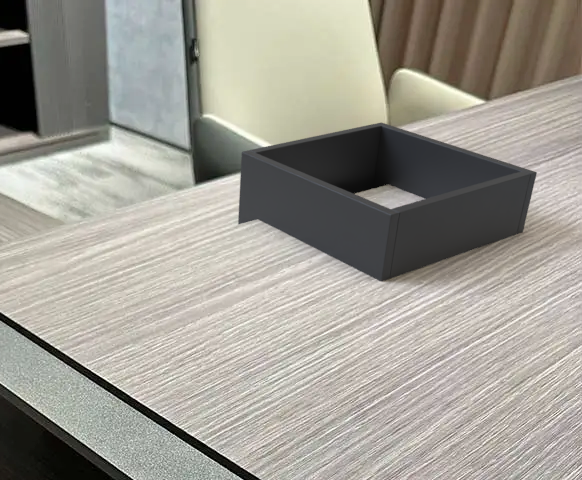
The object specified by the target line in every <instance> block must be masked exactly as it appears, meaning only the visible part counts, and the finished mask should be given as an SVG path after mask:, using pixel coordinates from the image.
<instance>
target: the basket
mask: <svg viewBox="0 0 582 480" xmlns="http://www.w3.org/2000/svg"><path fill="white" fill-rule="evenodd" d="M240 160H241V161H240V177H239V178H240V179H239V197H238V198H239V199H238V201H239V202H238V216H237V217H238V219H237V225H243V224H246V223H250V222H254V221H257V220H258V221H260V222H263V223H264V224H266V225H268V226H270V227H272V228H274V229H276V230H278V231H280V232H282V233H284V234H286V235H287V236H290V237H292V238H294V239H296V240H297V241H300V242H302V243H304V244H305V245H308V246H310V247H312V248H313V249H316V250H318V251H319V252H322V253H324V254H325V255H327V256H330V257H331V258H333V259H336V260H337V261H339V262H341V263H343V264H345V265H347V266H349V267H352V269H355V270H357V271H359V272H361V273H362V274H365V275H367V276H369V277H371V278H372V279H375V280H377V281H379V282H381V283H382V282H385V281H387V280H390V279H394V278H396V277H399V276H402V275H405V274H408V273H411V272H414V271H417V270H419V269H422V268H425V267H427V266H430V265H434V264H436V263H437V264H438V263H439V262H442V261H445V260H448V259H451V258H454V257H456V256H459V255H463V254H466V253H468V252H470V251H473V250H476V249H479V248H482V247H485V246H487V245H491V244H494V243H497V242H498V241H503V240H505V239H507V238H511V237H513V236H516V235H519V234H522V233H524V229H525V224H526V221H527V216H528V211H529V208H530V204H531V199H532V195H533V191H534V187H535V184H536V183H535V182H536V179H537V175H538V172H537V171H536V170H535V171H534V170H531V169H529V168H526V167H522V166H518V165H516V164H512V163H509V162H506V161H503V160H501V159H497V158H495V157H491V156H487V155H485V154H481V153H478V152H475V151H472V150H469V149H466V148H463V147H460V146H456V145H453V144H450V143H447V142H444V141H440V140H438V139H434V138H431V137H428V136H425V135H422V134H419V133H416V132H412V131H410V130H406V129H403V128H400V127H397V126H393V125H391V124H387V123H385V122H377V123H372V124H368V125H362V126H358V127H353V128H348V129H343V130H339V131H334V132H328V133H324V134H319V135H314V136H309V137H305V138H300V139H296V140H291V141H286V142H282V143H281V142H280V143H277V144H271V145H267V146H262V147H258V148H252V149H249V150H244V151H241V159H240ZM388 185H389V186H391V187H394V188H397V189H399V190H402V191H404V192H407V193H410V194H412V195H414V196H416V197H419V198H422V199H420V200H418V201H417V200H416V201H413V202H411V203H407V204H403V205H400V206H397V207H393V208H389V207H387V206H384V205H382V204H379V203H377V202H374V201H372V200H370V199H368V198H365V197H362V196H361V195H358V194H359V193H362V192H366V191H370V190H373V189H374V190H375V189H377V188H381V187H385V186H388Z"/></svg>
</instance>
